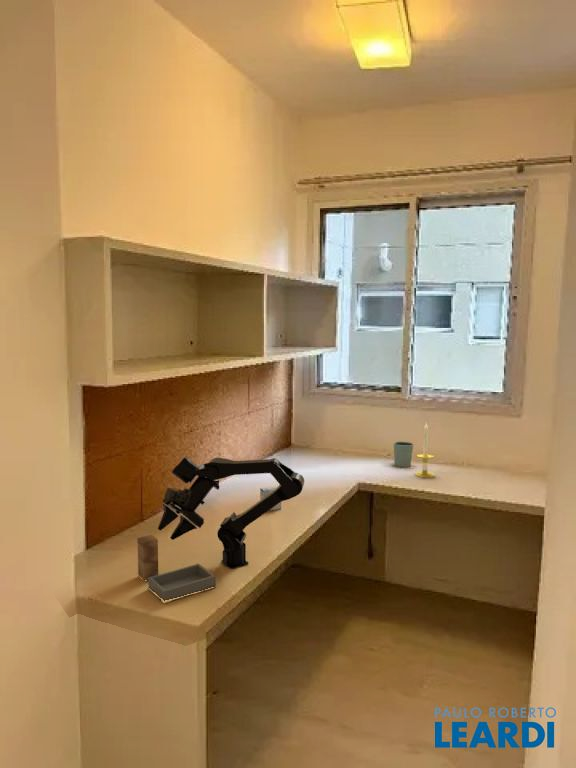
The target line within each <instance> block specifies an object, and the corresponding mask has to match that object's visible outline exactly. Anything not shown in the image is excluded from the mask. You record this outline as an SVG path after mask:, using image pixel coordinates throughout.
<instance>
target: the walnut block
mask: <svg viewBox="0 0 576 768" xmlns="http://www.w3.org/2000/svg"><path fill="white" fill-rule="evenodd" d="M158 540H159V539H158V538H157V537H155V535H153V534H148V535H144V536H141V537H137V571H138V573H137V576H138V575H139V576H140V577H141V578H142V579H143V580H144V581H145V580H148V578H149V577H152V576H156V575H159V541H158ZM140 577H139V578H140ZM141 578H140V579H141ZM142 579H141V580H142ZM143 580H142V581H143ZM144 581H143V582H144Z"/></svg>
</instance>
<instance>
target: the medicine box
mask: <svg viewBox="0 0 576 768" xmlns="http://www.w3.org/2000/svg"><path fill="white" fill-rule="evenodd" d="M278 486H279V485H277V486H268V487H267V486H266V487H261V488H260V489H259V490H260V491H259V492H260V493H259V495H260V496H259V497H260V499H259V501H260V500H262V499H263V498H264V497H266V496H267V495H269V494H270V493H271V492H273V491H274V490H275V489H276V488H277V487H278ZM278 510H282V502H280V503H278V504H277V505H276V506H274V507H273V508H271V509H270V510H269V511H278ZM269 511H268V512H269Z"/></svg>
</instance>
